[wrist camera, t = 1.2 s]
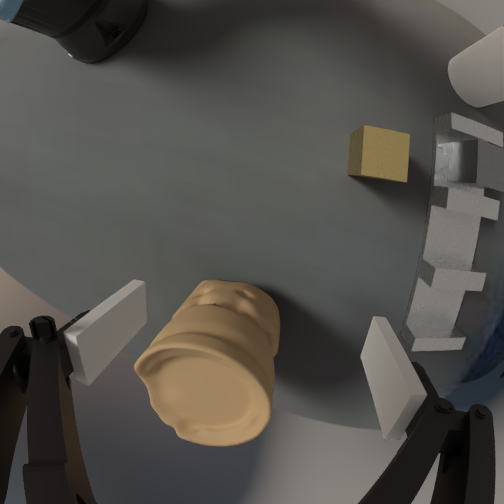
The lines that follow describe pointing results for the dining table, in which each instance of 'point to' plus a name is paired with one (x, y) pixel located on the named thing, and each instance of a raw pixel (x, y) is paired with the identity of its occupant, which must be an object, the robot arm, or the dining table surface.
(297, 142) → the dining table surface
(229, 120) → the dining table surface
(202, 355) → the container
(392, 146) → the tan wooden cube
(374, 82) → the dining table surface
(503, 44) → the cup
